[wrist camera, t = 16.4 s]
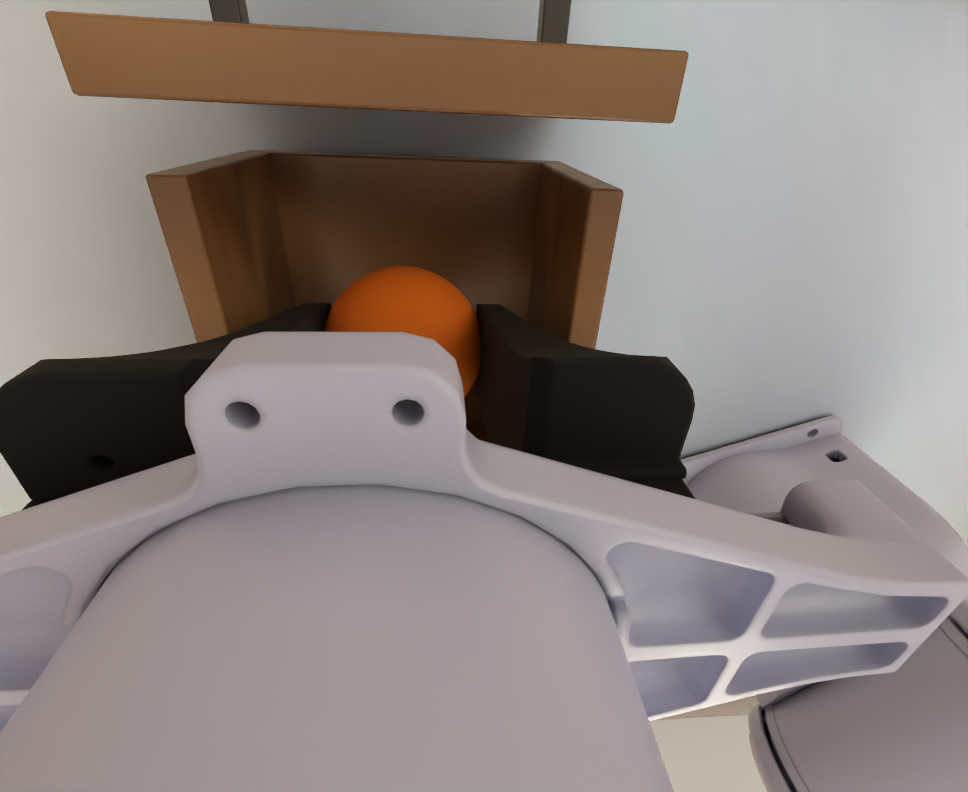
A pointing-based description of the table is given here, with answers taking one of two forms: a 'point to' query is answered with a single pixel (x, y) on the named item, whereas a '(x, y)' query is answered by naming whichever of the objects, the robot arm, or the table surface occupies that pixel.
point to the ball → (412, 313)
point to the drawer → (378, 163)
